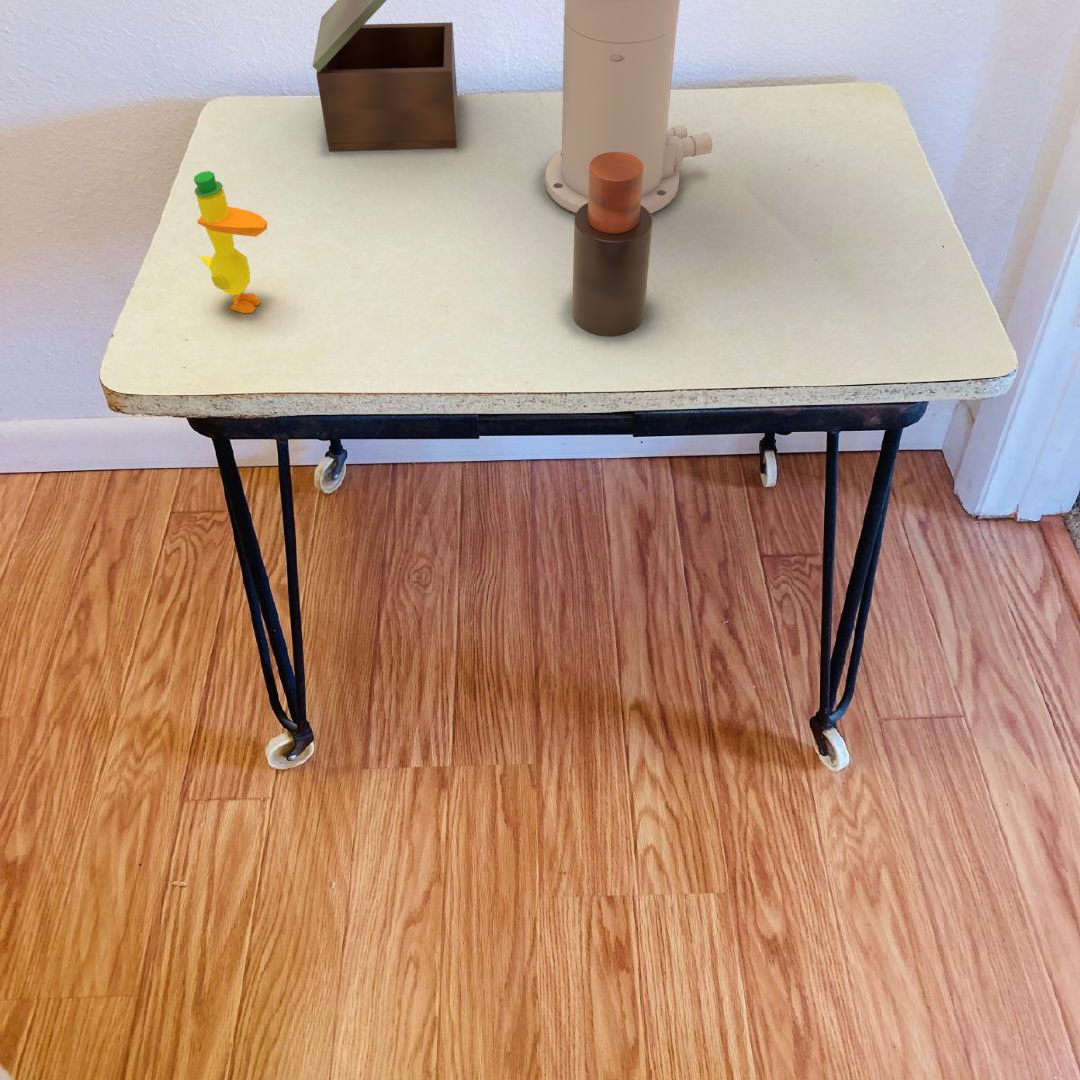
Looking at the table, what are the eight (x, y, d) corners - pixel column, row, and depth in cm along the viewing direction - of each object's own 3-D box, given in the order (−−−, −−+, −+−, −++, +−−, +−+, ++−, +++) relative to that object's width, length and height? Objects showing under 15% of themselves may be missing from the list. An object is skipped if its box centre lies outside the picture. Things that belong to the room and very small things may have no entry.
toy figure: (293, 300, 92) (265, 171, 82) (276, 326, 89) (245, 196, 80) (220, 287, 93) (184, 159, 84) (201, 313, 90) (162, 184, 81)
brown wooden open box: (457, 97, 114) (452, 22, 108) (456, 147, 107) (451, 70, 101) (336, 100, 113) (325, 25, 107) (328, 151, 107) (316, 74, 101)
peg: (625, 199, 85) (629, 147, 82) (648, 226, 83) (652, 173, 79) (579, 211, 84) (580, 158, 81) (600, 238, 82) (603, 185, 78)
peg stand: (625, 284, 93) (631, 190, 86) (656, 325, 89) (665, 231, 82) (560, 301, 91) (562, 207, 85) (590, 343, 88) (594, 249, 81)
